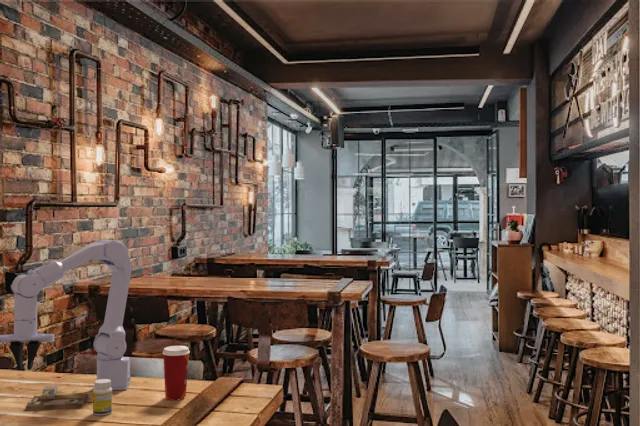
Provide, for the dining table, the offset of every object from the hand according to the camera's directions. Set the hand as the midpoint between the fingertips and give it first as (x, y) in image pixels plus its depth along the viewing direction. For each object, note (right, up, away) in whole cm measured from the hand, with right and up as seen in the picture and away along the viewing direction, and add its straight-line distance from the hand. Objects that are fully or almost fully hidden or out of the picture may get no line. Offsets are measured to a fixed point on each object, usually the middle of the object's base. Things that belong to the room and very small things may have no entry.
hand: (25, 369), depth 168 cm
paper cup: (+39, -10, +7) cm, 41 cm away
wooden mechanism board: (+9, -10, 0) cm, 13 cm away
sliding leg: (+7, -8, -1) cm, 10 cm away
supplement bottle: (+24, -10, -7) cm, 27 cm away
